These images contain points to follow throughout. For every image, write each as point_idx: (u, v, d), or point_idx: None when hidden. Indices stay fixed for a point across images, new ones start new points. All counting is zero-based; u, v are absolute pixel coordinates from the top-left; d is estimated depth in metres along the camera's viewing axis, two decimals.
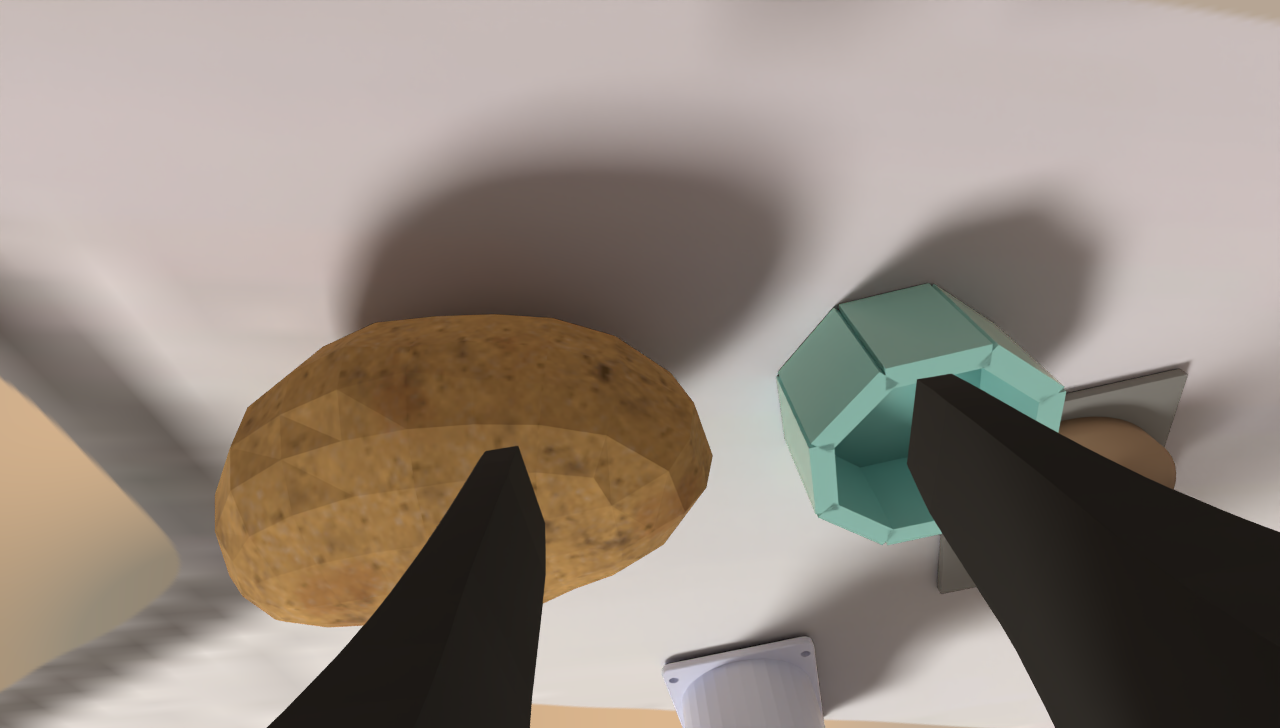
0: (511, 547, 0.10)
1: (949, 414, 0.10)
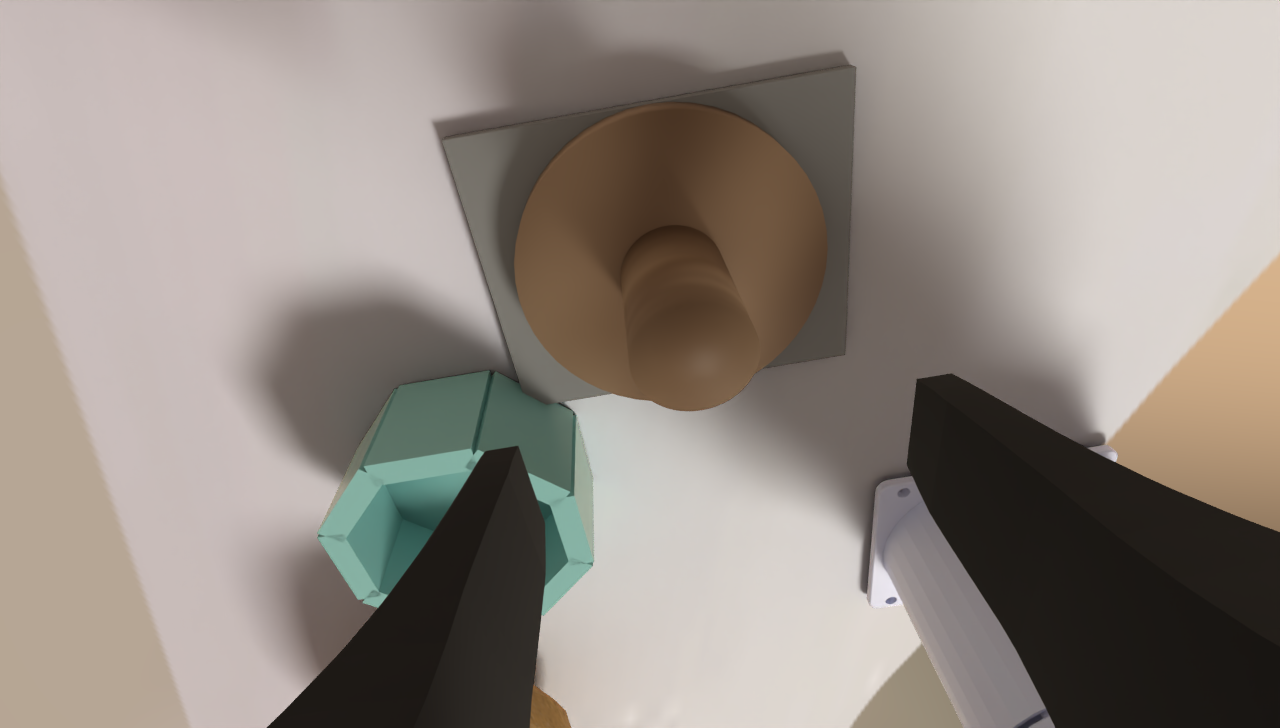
0: (511, 547, 0.10)
1: (949, 414, 0.10)
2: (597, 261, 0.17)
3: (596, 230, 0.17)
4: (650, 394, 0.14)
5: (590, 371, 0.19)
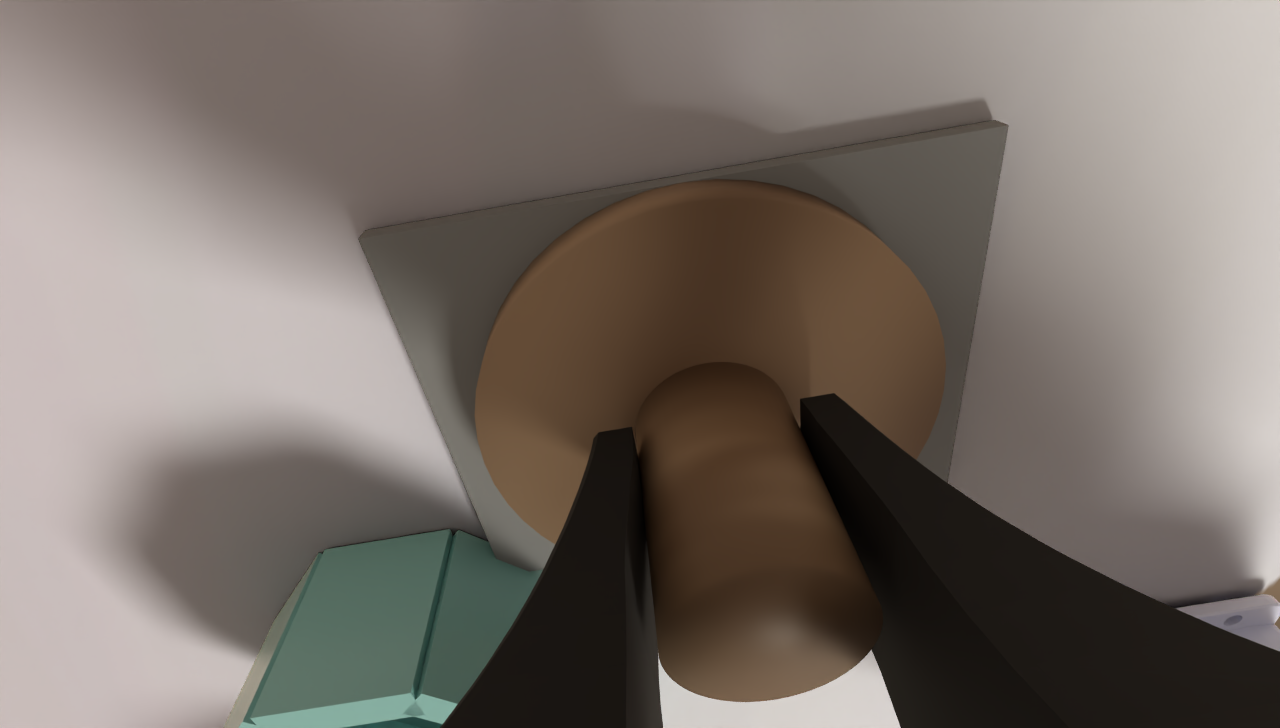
0: (639, 526, 0.10)
1: (820, 435, 0.10)
2: (601, 411, 0.12)
3: (599, 370, 0.11)
4: (691, 685, 0.09)
5: None
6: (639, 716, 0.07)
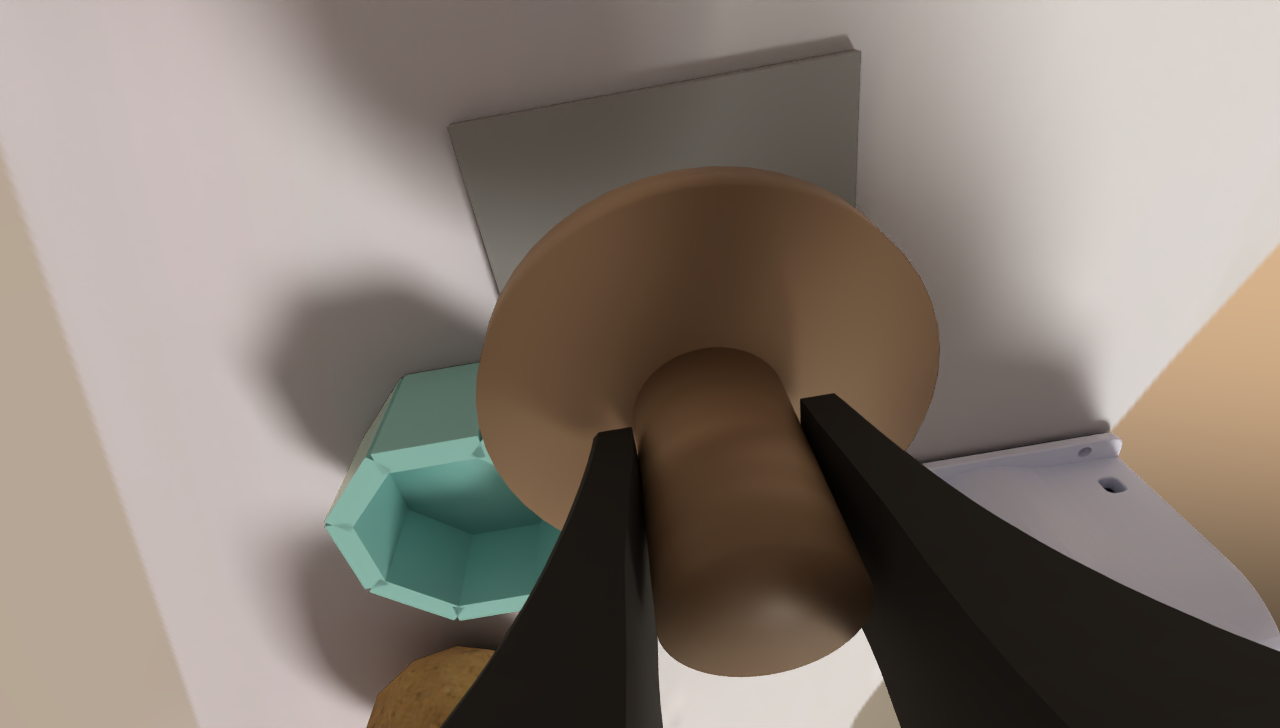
0: (639, 526, 0.10)
1: (821, 435, 0.10)
2: (599, 396, 0.12)
3: (597, 356, 0.11)
4: (688, 661, 0.09)
5: None
6: (639, 716, 0.07)
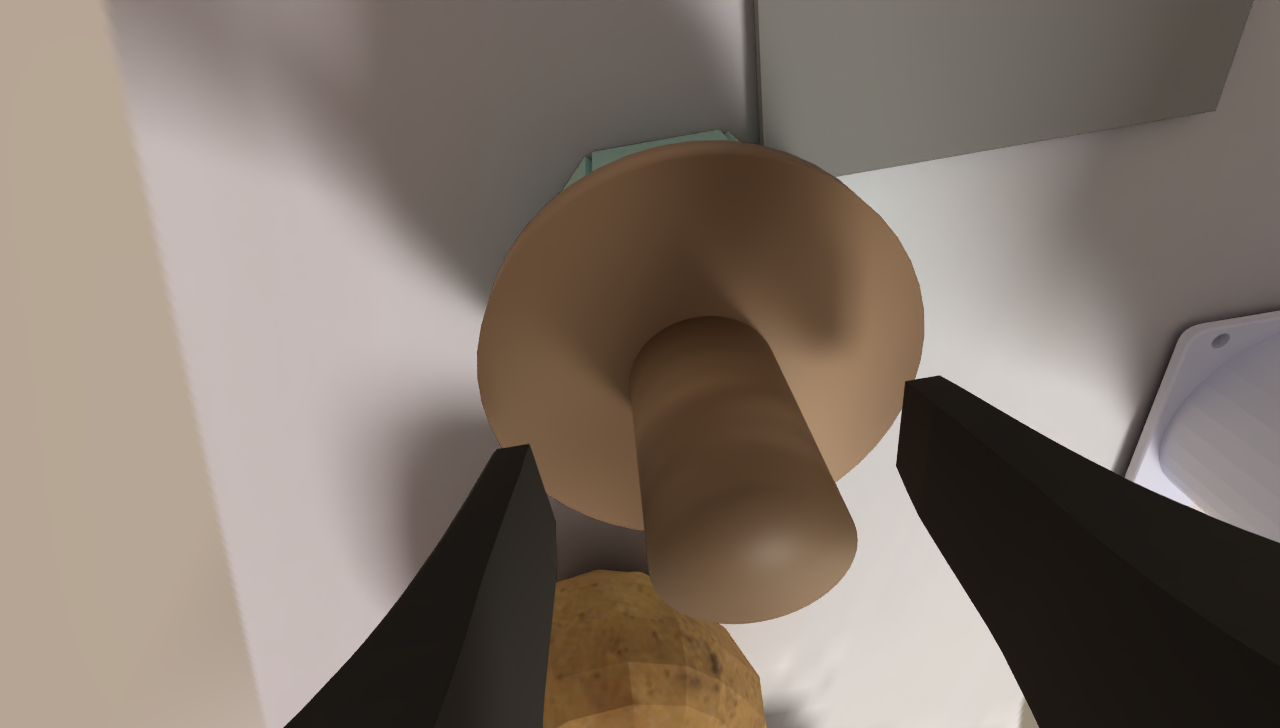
0: (524, 545, 0.10)
1: (936, 416, 0.10)
2: (598, 357, 0.12)
3: (600, 316, 0.12)
4: (675, 602, 0.09)
5: (575, 494, 0.14)
6: None
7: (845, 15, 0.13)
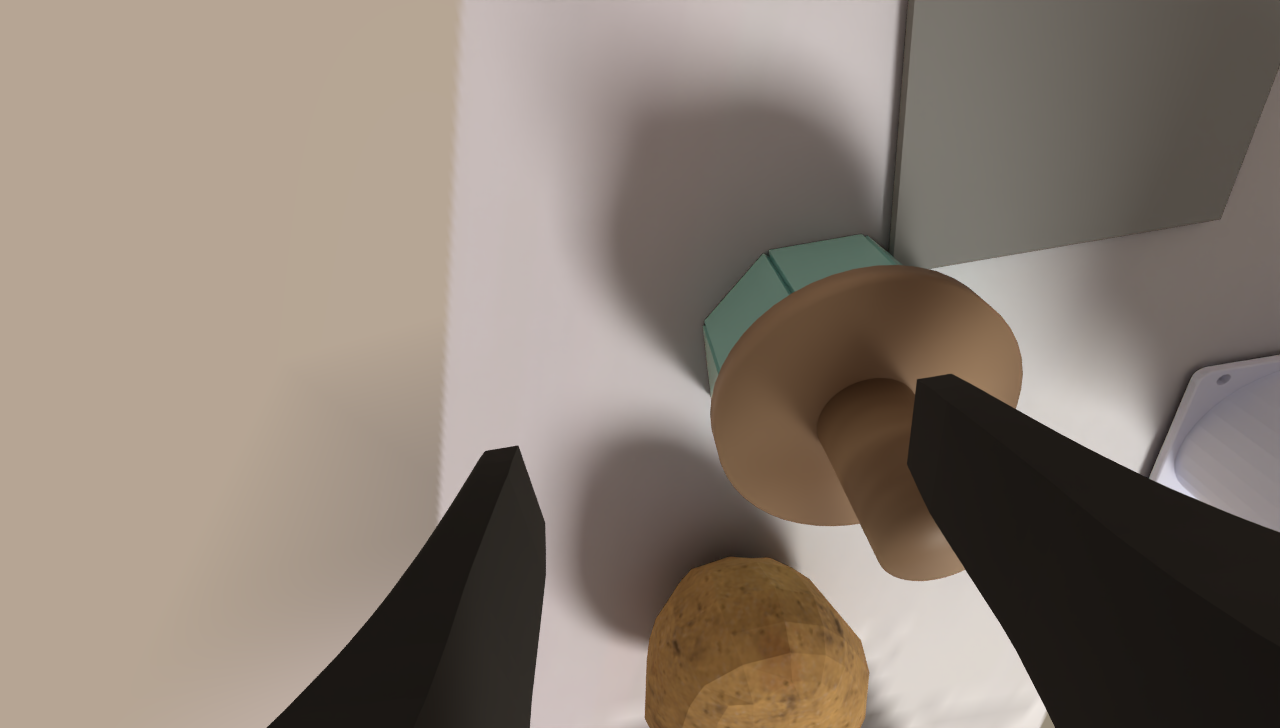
0: (511, 547, 0.10)
1: (949, 414, 0.10)
2: (801, 405, 0.18)
3: (807, 379, 0.17)
4: (887, 566, 0.15)
5: (763, 498, 0.20)
6: None
7: (961, 162, 0.19)
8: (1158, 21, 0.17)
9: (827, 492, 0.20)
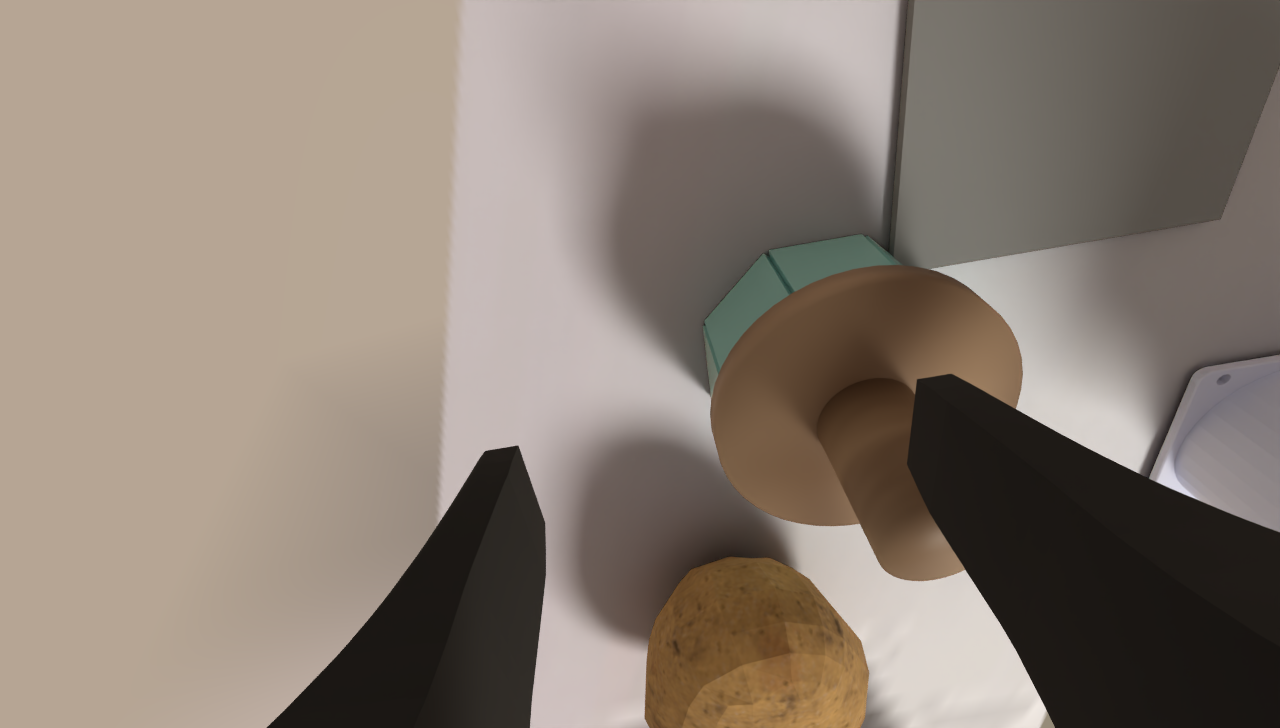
0: (511, 547, 0.10)
1: (949, 414, 0.10)
2: (801, 405, 0.18)
3: (807, 379, 0.17)
4: (887, 566, 0.15)
5: (763, 498, 0.20)
6: None
7: (961, 162, 0.19)
8: (1158, 21, 0.17)
9: (827, 492, 0.20)
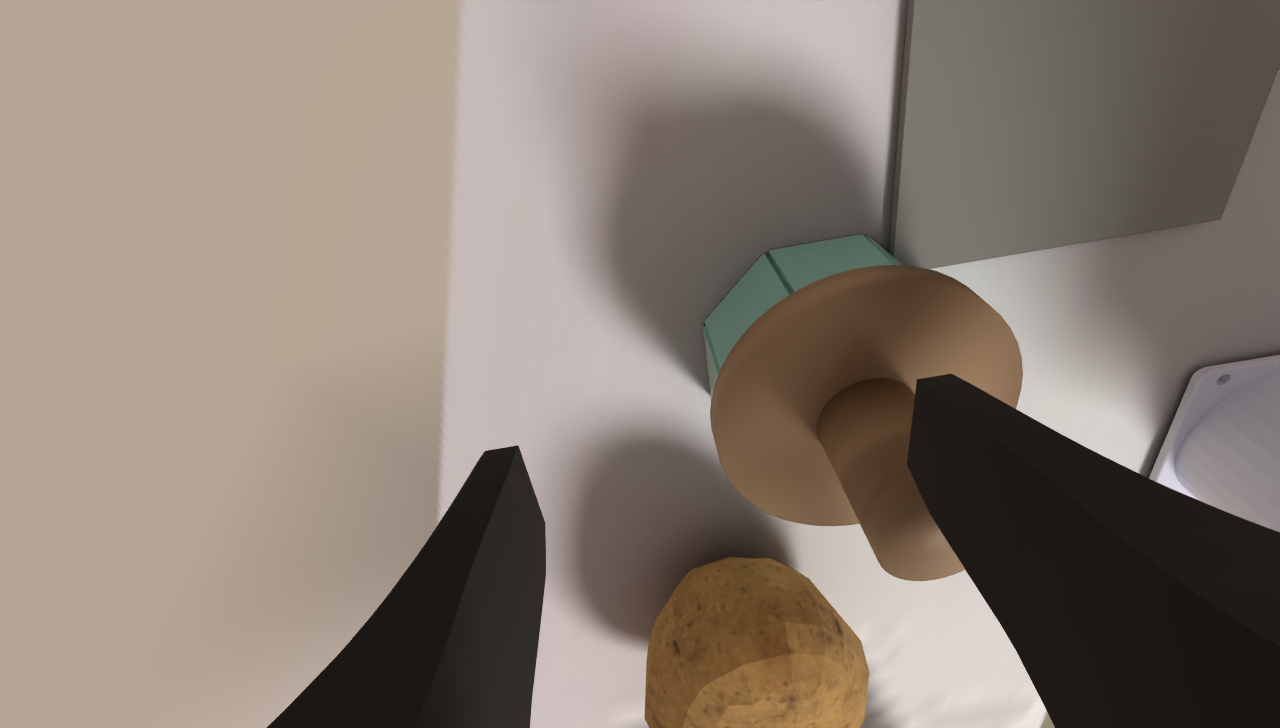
0: (511, 547, 0.10)
1: (949, 414, 0.10)
2: (801, 405, 0.18)
3: (807, 379, 0.17)
4: (887, 566, 0.15)
5: (763, 498, 0.20)
6: None
7: (961, 162, 0.19)
8: (1158, 21, 0.17)
9: (827, 492, 0.20)
